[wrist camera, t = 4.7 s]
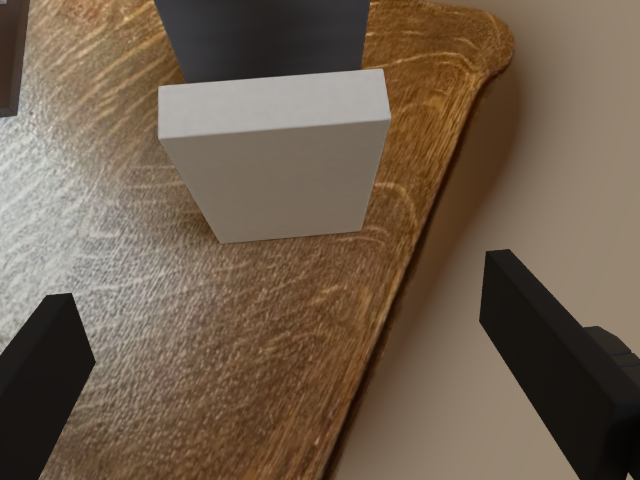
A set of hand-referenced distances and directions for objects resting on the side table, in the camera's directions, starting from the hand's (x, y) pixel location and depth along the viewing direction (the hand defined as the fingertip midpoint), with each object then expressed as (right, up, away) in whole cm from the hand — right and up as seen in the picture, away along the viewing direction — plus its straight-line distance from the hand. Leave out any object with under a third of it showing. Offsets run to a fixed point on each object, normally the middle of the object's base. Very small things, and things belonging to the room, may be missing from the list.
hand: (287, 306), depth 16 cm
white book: (-1, +3, +16) cm, 16 cm away
